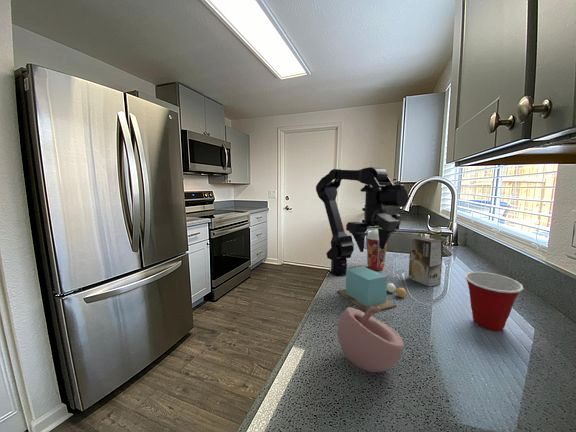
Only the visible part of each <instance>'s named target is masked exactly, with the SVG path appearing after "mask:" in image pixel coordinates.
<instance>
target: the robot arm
mask: <svg viewBox="0 0 576 432" xmlns="http://www.w3.org/2000/svg"><path fill="white" fill-rule="evenodd" d="M342 180H348V181H357V182H360V183H361V184H363V185H364V186H363V187H362V188H360V192H361V193H363V192H364V193H365V198H364V199H365V202H364V203H365V204H364V207H362V209H361V210H362V212H364V219H362V220H361V222H360V221H348V222H347V224H346V226H345V229H344V224H343V222H342V218H341V214H340V211H339V207H338V204H337V201H336V200H337V196H338V189H339V187H340V186H341V181H342ZM315 191H316V194H317V197H318V198H319V199H320V200H321V201H322V203H323V204H324V209H325V212H326V216H327V219H328V223H329V227H330V230H331V235H332V236H331V241H330V247H331V248H330V249H329V250H328V251H327V252H326V257H327V259H329V260H330V269H327V272H329V273H331V274H332V275H334V276H336V277H340V276H346V269H348V263H347V262H348V259H350V258H351V257H352V255H353V252H354V250H355V248H354V247H355V244H354V242H353V238H354V240H355V243H356V245H357V247H358V250H359V252H360V253H364V250H365V239H366V238H365V237H367V236H368V233H367V230H369V229H370V230H374V229H377V228H378V234H379V242H380V248H381V249H384V248H385V245H386V243H387V244H388V241H389V239H390V236H392V234H393V233H395V232H397V230H400V225H401V221H402V219H401V215H400V214H399V213H393V214H387V209H386V208H384V206H385V207H393V208H404V207H405V206H406V205H407V203H408V200H409V195H408V192H407V189H406V188H405V184H401V183H399V184H394V183H393V182H392V180H391V178H390V177H389V175H388V172H387V170H386V168H382V167H373V166H372V167H371V166H369V167H364V168H361V169H354V170H353V169H341V168H333V169H331V170H330V171H329V172H328V173H327V174H326V175H324V176H323V177H322V178H321V179H320V180H319V181H318V182H317V184H316V186H315ZM345 230H346V231H349V234H351V235H347V234H348V233H346V232H345ZM330 270H331V271H330Z"/></svg>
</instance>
